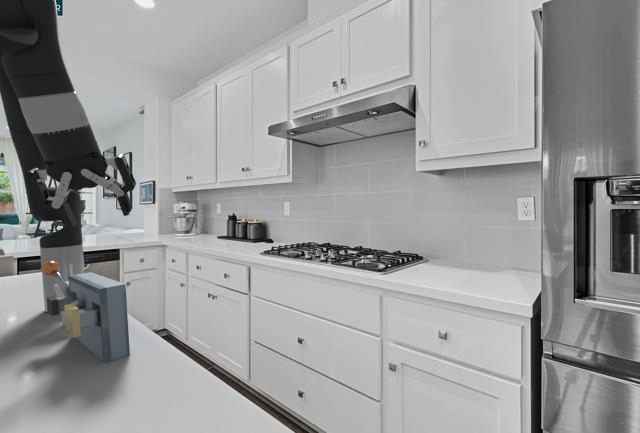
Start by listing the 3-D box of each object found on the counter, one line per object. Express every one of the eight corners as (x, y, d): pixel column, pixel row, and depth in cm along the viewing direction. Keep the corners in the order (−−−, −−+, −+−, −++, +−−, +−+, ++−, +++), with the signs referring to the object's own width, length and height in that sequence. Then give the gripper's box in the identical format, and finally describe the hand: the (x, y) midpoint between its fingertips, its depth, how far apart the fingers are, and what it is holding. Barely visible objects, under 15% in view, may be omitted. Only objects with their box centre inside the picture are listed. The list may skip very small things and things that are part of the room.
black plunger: (47, 312, 66) (46, 297, 66) (71, 306, 69) (70, 292, 69) (52, 316, 64) (51, 300, 63) (77, 310, 67) (76, 295, 67)
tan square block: (66, 331, 57) (64, 305, 57) (92, 324, 60) (91, 299, 60) (73, 337, 54) (71, 310, 54) (101, 329, 57) (99, 303, 57)
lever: (69, 310, 63) (36, 265, 59) (84, 302, 64) (52, 257, 61) (73, 313, 61) (39, 267, 57) (88, 304, 63) (55, 258, 59)
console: (65, 338, 69) (61, 276, 69) (94, 330, 73) (90, 272, 73) (96, 365, 56) (91, 290, 56) (129, 354, 60) (125, 284, 60)
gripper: (116, 116, 56) (146, 203, 63) (17, 129, 52) (61, 221, 59) (106, 122, 50) (141, 218, 57) (-8, 137, 46) (45, 239, 53)
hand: (100, 219), depth 58 cm, fingers open, 8 cm apart
